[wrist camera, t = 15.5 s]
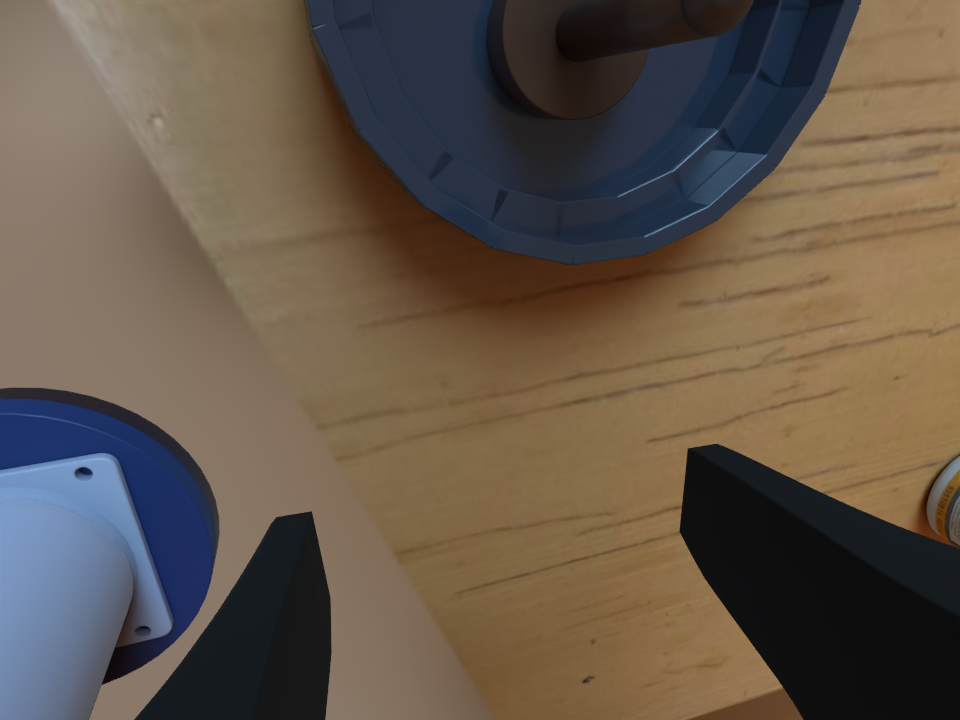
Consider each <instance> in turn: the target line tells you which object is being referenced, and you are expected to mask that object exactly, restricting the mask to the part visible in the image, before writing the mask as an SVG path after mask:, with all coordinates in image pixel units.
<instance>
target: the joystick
mask: <svg viewBox="0 0 960 720" xmlns="http://www.w3.org/2000/svg"><path fill="white" fill-rule="evenodd" d="M753 1H754V0H494V2H493V5H492V8H491V11H490V15H489V20H488V27H487V48H488V56H489V60H490V64H491V67H492V70H493V73H494V75H495V78H496V79H497V81H498V83H499V85H500V87H501V88H502V90H503V91H504V93H505V94H506V95H507V96H508V97H509V99H510V100H511V101H512V102H513V103H515V104H516V105H517V106H518V107H519V108H521V109H523V110H524V111H526V112H527V113H530V114H532V115H534V116H537V117H540V118H545V119H554V120H581V119H587V118H591V117H594V116H597V115H599V114H602V113H604V112H606V111H607V110H609V109H610V108H612V107H613V106H615V105H616V104H617V103H618V102H619V101H621V100H622V99H623V98H624V97H625V96H626V94H627V93H628V92H629V91H630V90H631V88H632V87H633V85H634V84H635V83H636V81H637V79H638V77H639V75H640V74H641V72H642V69H643V67H644V65H645V62H646V59H647V55H648V52H649V49H651V48H657V47H662V46H667V45H673V44H678V43H683V42H689V41H694V40H699V39H705V38H710V37H715V36H719V35H721V34H724V33H727V32H728V31H730V30H732V29H733V28H734V27H736V26H737V25H738V24H739V23H740V22H741V21H742V20H743V19H744V17H745V16H746V15H747V13H748V12H749V10H750V8H751V6H752V4H753Z"/></svg>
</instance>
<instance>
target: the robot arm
mask: <svg viewBox="0 0 960 720" xmlns="http://www.w3.org/2000/svg"><path fill="white" fill-rule="evenodd" d="M80 467H86V468H88V469H90V470H91V471H92V472H93V474H90V475H85V474H83V473H81V472H80V471H79V468H80ZM680 533H681V535H682V537H683V539H684V541H685V543H686V545H687V547H688V549H689V551H690V553H691V555H692V556H693V558H694V560H695V562H696V564H697V565H698V567H699V569H700V571H701V572H702V574H703V576H704V578H705V579H706V581H707V582H708V583H709V585H710V586H711V588H712V589H713V591H714V592H715V593H716V595H717V596H718V598H719V599H720V600H721V602H722V603H723V605H724V606H725V607H726V609H727V610H728V612H729V613H730V614H731V616H732V617H733V618H734V620H735V621H736V623H737V624H738V625H739V627H740V628H741V629H742V631H743V632H744V634H745V635H746V636H747V638H748V639H749V640H750V642H751V643H752V645H753V646H754V647H755V649H756V650H757V651H758V653H759V654H760V656H761V657H762V658H763V660H764V661H765V662H766V664H767V665H768V666H769V668H770V669H771V671H772V672H773V673H774V675H775V676H776V677H777V679H778V680H779V682H780V683H781V685H782V686H783V688H784V689H785V691H786V692H787V694H788V695H789V697H790V698H791V700H792V701H793V703H794V704H795V706H796V708H797V709H798V711H799V712H800V714H801V716H802V718H803V719H804V720H960V549H958V548H956V547H953V546H950V545H947V544H945V543H942V542H939V541H936V540H934V539H931V538H928V537H925V536H922V535H920V534H917V533H914V532H912V531H909V530H906V529H904V528H901V527H899V526H896V525H894V524H891V523H889V522H887V521H884V520H882V519H880V518H877V517H875V516H872V515H870V514H868V513H865V512H863V511H861V510H858V509H856V508H854V507H851V506H849V505H847V504H845V503H843V502H840V501H838V500H836V499H834V498H832V497H829V496H827V495H825V494H823V493H821V492H819V491H817V490H815V489H812V488H810V487H808V486H806V485H804V484H802V483H800V482H798V481H796V480H794V479H792V478H790V477H787V476H785V475H783V474H781V473H779V472H777V471H775V470H773V469H771V468H769V467H767V466H765V465H763V464H761V463H759V462H757V461H755V460H752V459H750V458H748V457H746V456H744V455H742V454H740V453H738V452H735V451H733V450H731V449H729V448H726V447H724V446H721V445H719V444H712V445H706V446H700V447H694V448H688V453H687V463H686V473H685V483H684V493H683V503H682V513H681V523H680ZM140 626H147V627H149V628H148V629H142V628H140ZM172 626H173V616H172V613H171V610H170V607H169V604H168V601H167V599H166V596H165V593H164V590H163V587H162V584H161V581H160V578H159V575H158V573H157V570H156V567H155V564H154V561H153V558H152V555H151V552H150V550H149V547H148V544H147V541H146V538H145V535H144V532H143V529H142V526H141V524H140V521H139V518H138V515H137V512H136V509H135V506H134V503H133V501H132V498H131V495H130V492H129V489H128V486H127V483H126V480H125V477H124V475H123V472H122V469H121V466H120V463H119V461H118V460H117V458H115V457H114V456H113V455H111V454H107V453H96V454H91V455H85V456H79V457H73V458H67V459H62V460H56V461H50V462H44V463H39V464H33V465H27V466H21V467H16V468H10V469H4V470H0V720H89V718H90V715H91V712H92V710H93V707H94V704H95V701H96V698H97V696H98V693H99V690H100V687H101V685H102V682H103V679H104V676H105V673H106V671H107V668H108V665H109V662H110V659H111V657H112V654H113V651H114V648H116V647H121V646H125V645H129V644H133V643H137V642H142V641H146V640H150V639H154V638H159V637H162V636H165V635H167V634H168V633H169V632H170V631H171V629H172ZM330 662H331V605H330V594H329V589H328V585H327V580H326V575H325V570H324V566H323V561H322V557H321V552H320V547H319V543H318V538H317V534H316V529H315V524H314V519H313V515H312V512H306V513H299V514H293V515H287V516H282V517H277V518H276V519H275V520H274V521H273V522H272V523H271V525H270V527H269V529H268V530H267V532H266V534H265V536H264V538H263V539H262V541H261V543H260V545H259V546H258V548H257V550H256V552H255V553H254V555H253V557H252V558H251V560H250V562H249V563H248V565H247V566H246V568H245V570H244V572H243V573H242V575H241V576H240V578H239V580H238V581H237V583H236V584H235V586H234V587H233V589H232V590H231V592H230V593H229V595H228V597H227V598H226V600H225V601H224V603H223V604H222V606H221V607H220V609H219V610H218V612H217V613H216V615H215V616H214V618H213V619H212V621H211V622H210V623H209V625H208V626H207V628H206V629H205V630H204V632H203V633H202V634H201V636H200V637H199V639H198V640H197V641H196V643H195V644H194V646H193V647H192V648H191V650H190V651H189V652H188V654H187V655H186V657H185V658H184V659H183V661H182V662H181V663H180V664H179V666H178V667H177V668H176V670H175V671H174V672H173V673H172V675H171V676H170V677H169V679H168V680H167V681H166V682H165V684H164V685H163V686H162V687H161V689H160V690H159V691H158V692H157V694H156V695H155V696H154V697H153V698H152V699H151V701H150V702H149V703H148V704H147V705H146V706H145V708H144V709H143V710H142V711H141V712H140V714H139V715H138V716H137V717H136V719H134V720H325V716H326V706H327V695H328V684H329V673H330Z"/></svg>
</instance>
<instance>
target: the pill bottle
mask: <svg viewBox="0 0 960 720" xmlns="http://www.w3.org/2000/svg"><path fill="white" fill-rule="evenodd" d="M927 518H928V521H929V524H930V527H931V528H932V529H933V530H934V531H935V532H936V533H937V534H938V535H940V536H941V537H942V538H944V539H945V540H946V541H948V542H949V543H951V544H952V545H954V546H955V547H957V548H959V549H960V456H958V457H957V458H956V459H955V460H953V461H952V462H951V463H950V464H949V465H948V466H947V467H946V468H945V469H944V470H943V472H942V473H941V474H940V476H939V477H938V478H937V480H936V481H935V483H934V485H933V487H932V489H931V492H930V494H929V498H928V502H927Z"/></svg>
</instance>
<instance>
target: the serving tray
mask: <svg viewBox="0 0 960 720" xmlns="http://www.w3.org/2000/svg"><path fill="white" fill-rule="evenodd" d="M493 2H494V0H304V4H305V10H306V17H307V23H308V30H309V36H310V38H311V43H312V45H313V48H314V50H315V52H316V54H317V56H318V59H319V61H320V63H321V65H322V67H323V70H324V72H325V74H326V76H327V78H328V80H329V83H330V85H331V87H332V89H333V91H334V94H335V96H336V98H337V100H338V102H339V105H340V107H341V109H342V111H343V113H344V116H345V118H346V120H347V122H348V124H349V127H350V128H352V131H353V132H354V133H355V135H356V136H357V137H358V138H359V139H360V140H361V141H362V143H363V144H364V145H365V146H366V147H367V148H368V150H369V151H370V152H371V153H372V154H373V155H374V156H375V158H376V159H377V160H378V161H379V162H380V163H381V164H382V166H383V167H384V168H385V169H386V170H387V171H388V172H389V174H390V175H391V176H392V177H393V178H394V179H395V180H396V182H397V183H398V184H399V185H400V186H401V187H402V189H403V190H404V191H405V192H406V193H407V194H409V195H410V196H411V197H412V198H413V199H415V200H416V201H417V202H418V203H420V204H421V205H422V206H423V207H425V208H427V209H428V210H430V211H432V212H433V213H435V214H437V215H438V216H440V217H442V218H443V219H445V220H447V221H448V222H450V223H452V224H453V225H455V226H457V227H458V228H460V229H462V230H463V231H465V232H467V233H468V234H470V235H472V236H473V237H475V238H477V239H478V240H480V241H482V242H483V243H485V244H487V245H488V246H490V247H492V248H493V249H496V250H499V251H504V252H509V253H514V254H519V255H524V256H528V257H533V258H538V259H543V260H548V261H553V262H557V263H562V264H567V265H571V264H572V265H577V264H585V263H592V262H600V261H607V260H615V259H622V258H630V257H637V256H644V255H646V254H649V253H651V252H653V251H656V250H658V249H660V248H662V247H664V246H666V245H668V244H670V243H672V242H674V241H676V240H678V239H681V238H683V237H685V236H687V235H689V234H691V233H693V232H695V231H697V230H699V229H701V228H704V227H706V226H708V225H710V224H712V223H714V222H715V221H717V220H718V219H719V218H721V217H722V216H723V215H724V214H725V213H726V212H727V211H728V210H730V209H731V208H732V207H733V206H734V205H735V204H736V203H737V202H739V201H740V200H741V199H742V198H743V197H744V196H745V195H746V194H748V193H749V192H750V191H751V190H752V189H753V188H754V187H755V186H757V185H758V184H759V183H760V182H761V181H762V180H763V179H764V178H766V177H767V176H768V175H769V174H770V173H771V172H772V171H773V170H775V167H777V166H778V164H779V163H780V162H781V160H782V159H783V157H784V156H785V154H786V153H787V151H788V150H789V148H790V147H791V145H792V144H793V142H794V141H795V139H796V138H797V136H798V135H799V134H800V132H801V131H802V129H803V128H804V126H805V125H806V123H807V122H808V120H809V119H810V117H811V116H812V114H813V113H814V111H815V110H816V108H817V107H818V106H819V104H820V103H821V101H822V100H823V98H824V97H825V95H824V94H826V92H827V90H828V87H829V85H830V82H831V79H832V77H833V74H834V72H835V69H836V67H837V64H838V61H839V59H840V56H841V54H842V51H843V49H844V46H845V43H846V41H847V38H848V36H849V33H850V31H851V28H852V25H853V23H854V20H855V18H856V15H857V13H858V10H859V5H860V4H861V0H754V1H753V4H752V6H751V8H750V10H749V12H748V13H747V15H746V16H745V17H744V19H743V20H742V21H741V22H740V23H739V24H738V25H737V26H736V27H734V28H733V29H732V30H730V31H728V32H727V33H724V34H721V35H719V36H715V37H710V38H705V39H699V40H694V41H689V42H683V43H678V44H673V45H667V46H662V47H657V48H651V49H649V52H648V55H647V59H646V62H645V65H644V67H643V69H642V72H641V74H640V75H639V77H638V79H637V81H636V83H635V84H634V85H633V87H632V88H631V90H630V91H629V92H628V93H627V94H626V96H625V97H624V98H623V99H622V100H621V101H619V102H618V103H617V104H616V105H615V106H613V107H612V108H610V109H609V110H607V111H606V112H604V113H602V114H599V115H597V116H594V117H591V118H587V119H581V120H554V119H545V118H540V117H537V116H534V115H532V114H530V113H527V112H526V111H524V110H523V109H521V108H519V107H518V106H517V105H516V104H515V103H513V102H512V101H511V100H510V99H509V97H508V96H507V95H506V94H505V93H504V91H503V90H502V88H501V87H500V85H499V83H498V81H497V79H496V78H495V75H494V73H493V70H492V67H491V64H490V60H489V56H488V48H487V27H488V20H489V15H490V11H491V8H492V5H493Z"/></svg>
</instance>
